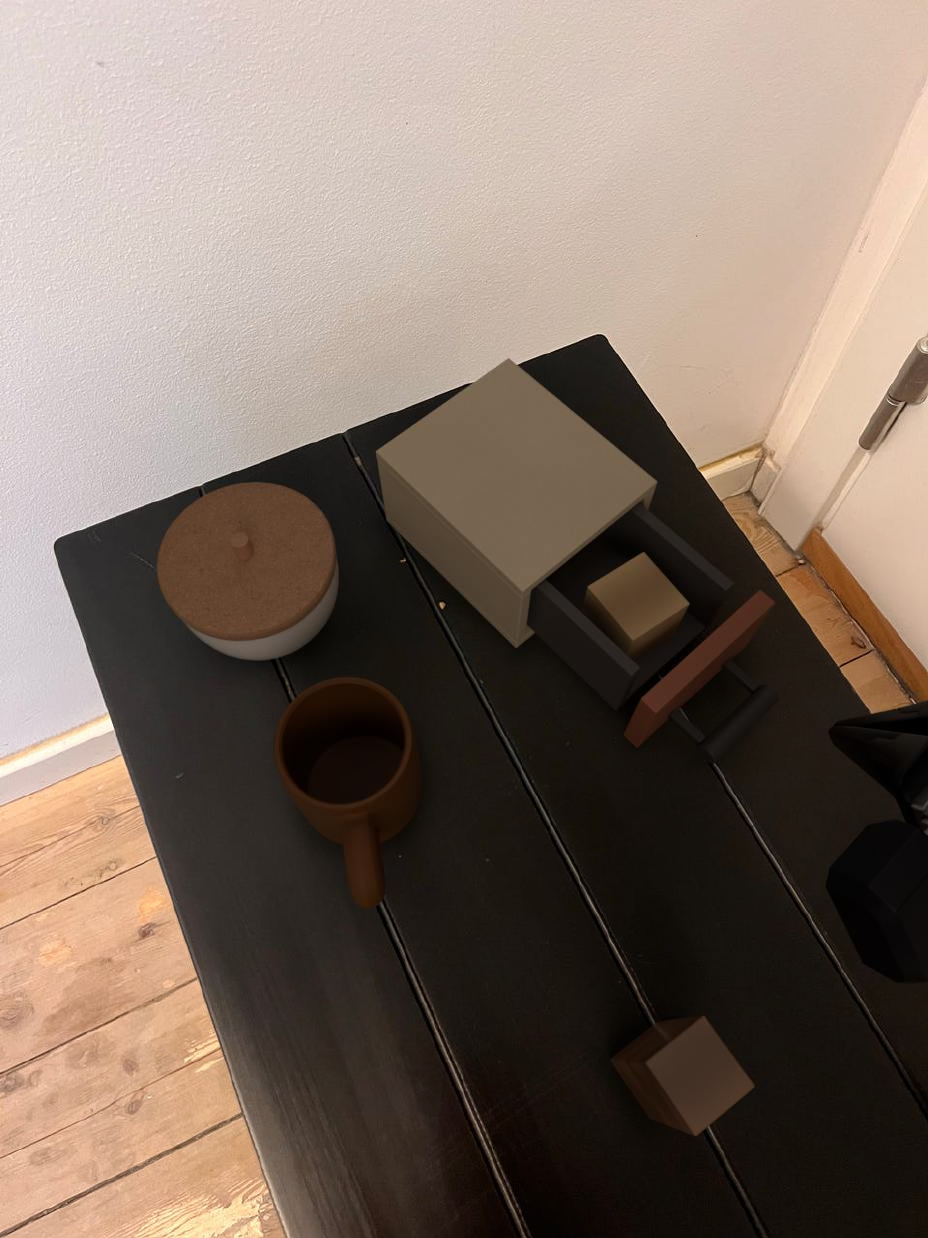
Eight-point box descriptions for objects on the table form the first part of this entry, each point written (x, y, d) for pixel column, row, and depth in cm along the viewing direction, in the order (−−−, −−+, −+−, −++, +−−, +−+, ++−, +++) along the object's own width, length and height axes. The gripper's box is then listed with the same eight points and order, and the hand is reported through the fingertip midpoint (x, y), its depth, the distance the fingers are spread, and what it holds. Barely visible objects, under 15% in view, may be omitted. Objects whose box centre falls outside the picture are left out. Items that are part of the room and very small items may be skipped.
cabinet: (635, 548, 62) (658, 481, 54) (516, 648, 58) (522, 591, 51) (504, 433, 66) (508, 357, 59) (386, 520, 63) (375, 451, 55)
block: (674, 634, 56) (690, 603, 52) (621, 670, 55) (632, 640, 51) (631, 585, 58) (643, 551, 54) (579, 618, 57) (587, 586, 53)
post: (698, 1079, 47) (756, 1086, 37) (649, 1119, 46) (695, 1137, 37) (658, 1021, 48) (704, 1014, 39) (609, 1059, 47) (644, 1062, 38)
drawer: (792, 687, 56) (829, 647, 50) (683, 794, 53) (709, 764, 47) (608, 525, 61) (622, 472, 56) (499, 614, 58) (502, 567, 53)
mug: (447, 912, 51) (443, 884, 42) (317, 938, 50) (286, 916, 42) (412, 719, 56) (402, 661, 48) (294, 742, 55) (263, 687, 47)
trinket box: (182, 565, 61) (136, 488, 53) (332, 528, 62) (310, 447, 54) (205, 703, 57) (159, 643, 48) (366, 660, 58) (348, 594, 49)
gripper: (1100, 1167, 32) (773, 958, 46) (1327, 826, 38) (974, 729, 51) (1033, 984, 28) (693, 812, 41) (1302, 626, 33) (923, 578, 47)
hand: (834, 732), depth 45 cm, fingers closed
